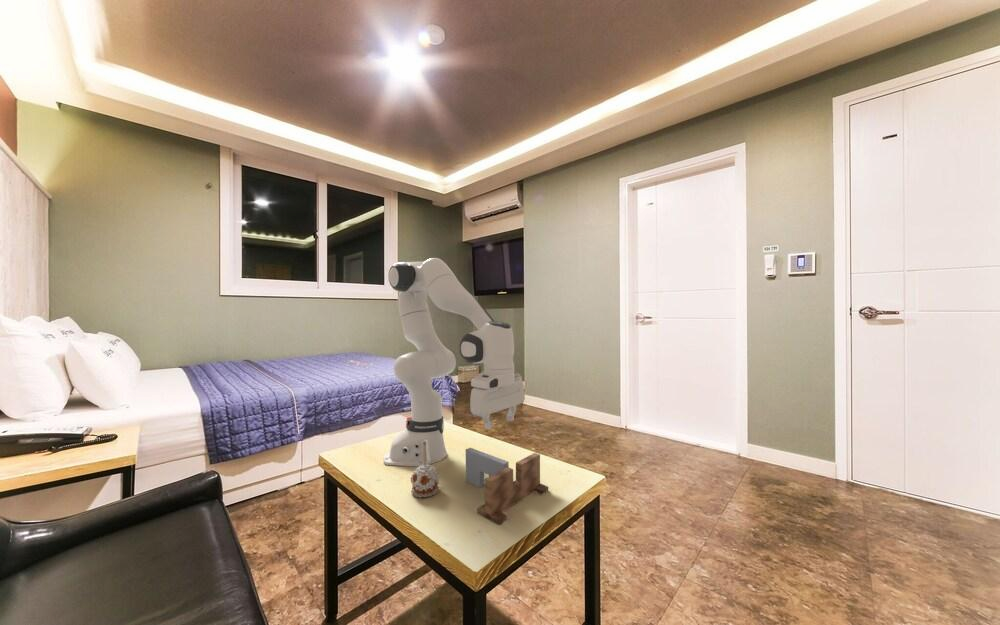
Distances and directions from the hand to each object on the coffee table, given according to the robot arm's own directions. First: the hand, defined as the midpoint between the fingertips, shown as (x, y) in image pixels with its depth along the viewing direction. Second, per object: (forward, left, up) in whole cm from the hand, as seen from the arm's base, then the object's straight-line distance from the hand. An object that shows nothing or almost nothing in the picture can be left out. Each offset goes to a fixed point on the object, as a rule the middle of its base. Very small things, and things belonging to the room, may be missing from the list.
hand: (499, 424), depth 104 cm
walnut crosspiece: (+4, -4, -21) cm, 21 cm away
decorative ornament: (-22, +3, -21) cm, 31 cm away
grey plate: (-4, +4, -21) cm, 21 cm away
